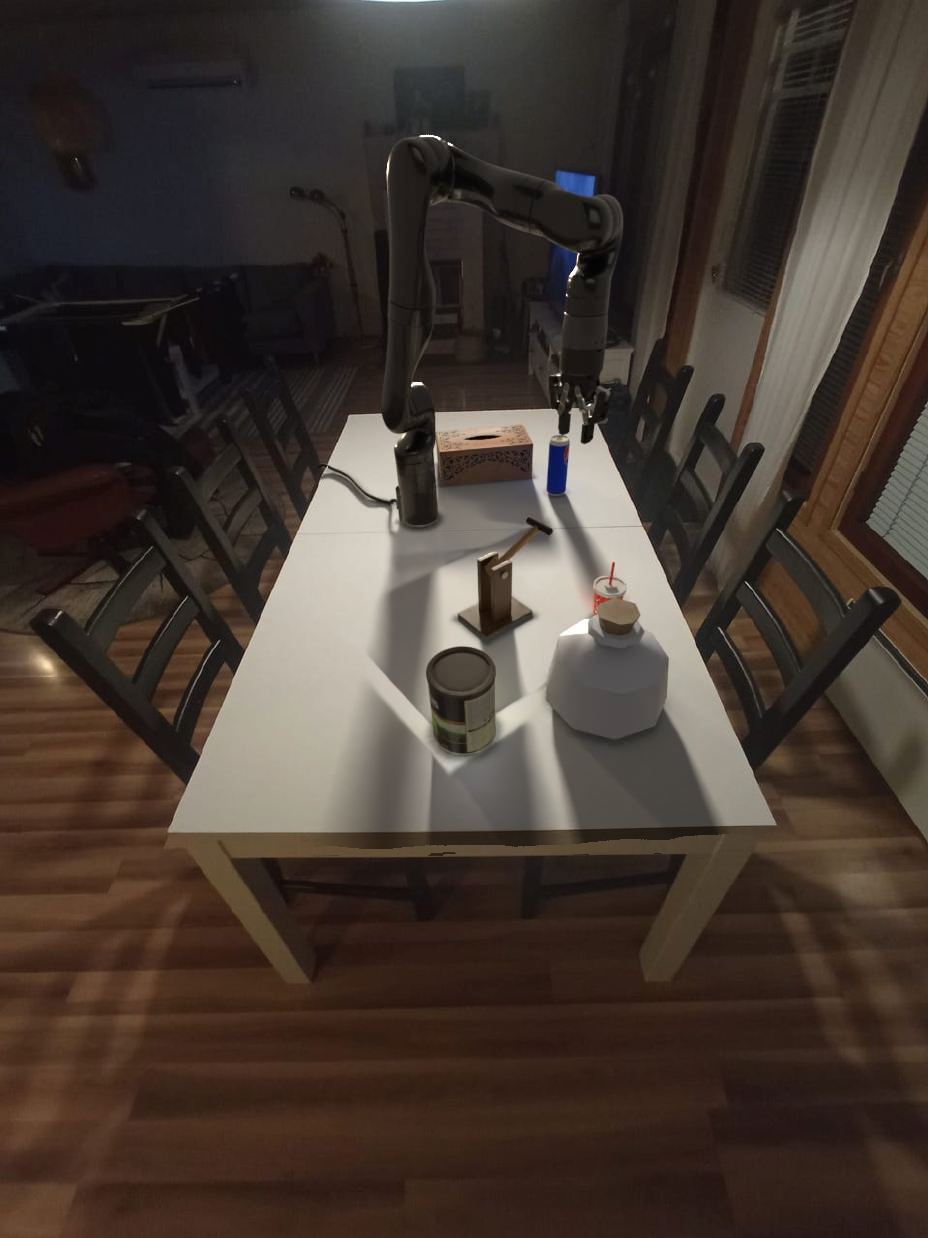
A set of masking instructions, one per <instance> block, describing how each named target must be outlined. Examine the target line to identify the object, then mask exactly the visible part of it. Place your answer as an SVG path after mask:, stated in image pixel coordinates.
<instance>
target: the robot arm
mask: <svg viewBox="0 0 928 1238" xmlns="http://www.w3.org/2000/svg"><path fill="white" fill-rule="evenodd" d="M386 188H387V189H386V193H387V209H388V228H389V265H388V267H389V272H388V276H389V277H388V293H387V294H388V295H387V334H386V335H387V336H386V352H385V354H386V355H385V366H384V374H383V382H382V390H381V397H380V411H381V417H382V420H383V423H384V425H385V426H386V428H387V430H389V431H390V432H391V433H393V434H396V435H401V434H402V435H401V436H400V438H399V439H398V440H397V441H396V443H395V444H394V447H393V455H394V461H395V469H396V476H397V484H398V485H397V486H395V495H396V498H391V499H389V500H388V499H383V498H380V497H377V496H375V495H373V494H370V492H368V491H366V490H365V489H364V488H363V487H362V486H361V485H360V484H359V483H358V482H357V481H356V480H355V478H354V477H353V476H351V475H350V474H348V473H347V472H345V471H343V470H341V469H338V468H336V467H334V466H331V465H329V464H327V463H324V462H321V463H319V464H318V465H317V468H318V469H321V468H322V467H325V468H327V466H328V468H327V469H328V470H330V471H333V472H335V473H338V474H340V475H342V476H344V477H346V478H347V479H349V480H350V481H351V482H352V484H353V485H354V486H355V487H356V488H357V490H359V491H360V493H362V494H363V495H364V496H365V497H366V498H369V499H371V500H374V501H376V502H377V503H383V504H386V505H393V504H394V503H395V505H396V510H397V512H398V518H399V522H400V523H402V524H403V525H404V526H405V527H407V528H410V529H415V530H423V529H428V528H431V527H433V526H435V525H436V524H437V523H438V522H439V520H440V513H439V502H438V492H437V491H438V490H437V480H436V479H437V478H436V466H435V452H434V449H435V446H436V432H437V431H436V429H437V428H436V406H435V401H434V398H433V395H432V393H431V391H430V390H429V388H428V387H427V386H426V385H425V384H424V383H422V382H418V381H414V375H415V373H416V372H415V371H416V369H417V366H418V364H419V363H420V360H421V358H422V357H423V354H424V352H425V350H426V348H427V346H428V344H429V342H430V339H431V337H432V335H433V331H434V326H435V317H436V310H437V309H436V308H437V286H436V282H435V278H434V275H433V270H432V268H431V265H430V261H429V259H428V253H427V244H426V242H427V241H426V240H427V225H428V224H427V223H428V215H429V209H430V207H431V206H435V205H439V204H440V203H458V204H465V205H469V206H471V207H476V208H477V209H480V210H482V211H483V212H485V213H487V215H489V216H491V217H492V218H493V219H495V220H496V221H498V222H499V223H502V224H504V225H506V226H508V227H511V228H514V229H516V230H519V231H521V232H524V233H525V232H526V233H528V234H530V235H531V234H532V235H535V236H539V237H543V238H545V239H546V240H548V241H549V242H551V243H552V244H555V245H557V246H558V247H559V248H562V249H565V250H566V251H569V252H571V253H576V254H577V257H576V262H575V267H574V269H573V271H572V272H571V273H570V275H569V276H568V278H567V283H566V289H565V290H566V292H565V306H564V316H563V322H562V329H561V342H560V343H561V344H560V357H559V358H560V359H559V370H560V372H559V373H555V374H553V375H549V376H548V388H549V399H550V407H551V409H552V410H555V411H556V412H557V415H558V425H557V430H558V435H564V436H566V435H567V434H569V433H570V430H571V418H572V413H571V412H572V409H573V406H574V405H575V404H576V405H578V411H579V413H581V417H582V422H583V423H582V424H581V433H580V443H581V444H583V445H586V444H589V443H591V442H592V441H593V439H594V435H595V433H594V432H595V426H596V424H599V423H603V422H605V420H606V417H607V415H608V411H609V408H610V404H611V401H612V398H613V395H614V391H613V389H611V388H609V389H606V388H605V387H603V386H602V385H601V381H600V380H601V379H600V378H601V377H600V376H601V373H602V372H603V369H604V362H605V355H606V354H605V353H606V347H607V346H606V345H607V338H608V327H609V326H608V325H609V324H608V323H609V321H608V320H609V319H608V315H609V305H610V304H609V303H610V296H611V283H612V277H613V274H614V271H615V267H616V264H617V260H618V256H619V251H620V248H621V242H622V239H623V232H624V212H623V208H622V205H621V203H620V202H619V200H618V198H616V197H614V196H613V195H611V194H607V193H601V194H597V195H592V196H587V195H582V194H578V193H574V192H571V191H567V190H565V189H564V188H563V187H562V186H561V185H560V184H558V183H556V182H554V181H550V180H548V179H544V178H541V177H538V176H534V175H531V174H527V173H524V172H519V171H516V170H513V169H508V168H505V167H501V166H498V165H494V164H492V163H489V162H486V161H484V160H481V159H479V158H477V157H476V156H473V155H471V154H469V153H467V152H465V151H464V150H462V149H460V148H458V147H456V146H454V145H453V144H451V143H449V142H447V141H446V140H445V139H442V138H440V137H438V136H435V135H429V134H428V135H427V134H426V135H418V136H417V135H416V136H410V137H405V138H401V139H400V140H398V141H397V142H395V144H394V145H393V146H392V149H391V151H390V153H389V155H388V161H387V168H386ZM588 403H589V404H588ZM586 404H587V405H586Z"/></svg>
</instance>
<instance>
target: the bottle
mask: <svg viewBox="0 0 928 1238" xmlns="http://www.w3.org/2000/svg"><path fill="white" fill-rule="evenodd" d="M597 611H598V614H597V615H595V616H594V617H593V616H592V617H591V618H587V619H581V620H580V621H579V622H578V623H575V624H574V625H573V626H571V627H569V628H568V629H567V630H565V631H564V632H562V633H560V634H559V635H558V637H557V640H556V644H555V647H554V651H553V654H552V658H551V660H550V663H549V667H548V671H547V682H546V683H547V684H546V693H545V701H546V702H547V704H549V705H550V707H552V708H553V710H555V711H556V713H557V714H558V715H559V716H560V717H561V718H562V719H563V720H564V721H565V722H566V724H568V726H569V727H570V728H571V729H573V730H575V731H578V732H582V733H585V734H590V735H595V736H598V737H602V738H607V739H610V740H619V739H622V738H625V737H628V736H631V735H633V734H636V733H640V732H642V731H645V730H648V729H651V728H654V727H656V726H657V723H658V721H659V718H660V715H661V713H662V710H663V708H664V706H665V703H666V700H667V698H668V686H669V685H668V683H669V663H670V657H669V656H668V654H667V652H666V651H665V650H664V648H663V646H662V645H661V644H660V642H659V641H658V639H657V638H656V636H655V635H654V633H653V632H652V631H649V630H647V629H644V628H643V626H642V625H641V623H640V621H639V619H640V617H641V613H640V610H639V608H638V606H637V604H636V603H635V602H632V601H629V600H626V599H623V600H622V599H619V598H613V599H610V600H608V601H606V602H604V603H601V604H599V605H597Z"/></svg>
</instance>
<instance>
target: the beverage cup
mask: <svg viewBox="0 0 928 1238" xmlns="http://www.w3.org/2000/svg"><path fill="white" fill-rule="evenodd" d="M615 566H616V562H615V561H612V563H611V569H610V575H602V576H599V577H597V578H595V580H594V581H593V586H592V588H593V589H592V590H593V604H592V605H593V606H592V617H594V616H595V615H597V614H598V611H597V605H599V604H601V603H604V602H606V601H608V600H610V599H613V598H619V599H622V600H624V595H625V594H626V592H627V589H628V585H627V583H626V582H625V580H623V579H622V578H620V577H618V576H615V575H614V571H615Z"/></svg>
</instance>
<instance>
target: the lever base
mask: <svg viewBox="0 0 928 1238" xmlns="http://www.w3.org/2000/svg"><path fill="white" fill-rule="evenodd" d="M494 557H495V558H496V559H499V552H498V551H497V550H494V551H492V552H489V553H487V554H485V555H482V556H481V557H479V558H477V559H476V560H477V561H476V564H477V566H476V567H477V568H476V569H477V600H478V603H476V604H474V605H471V606H469V607H467V608H466V609H463V610H462V611H460V612H458V613H457V616H458V617H459V618H461V619H462V620H463V621H464V622H465V623H467V625H469V626H470V627H471V628H473V629H474V630H475V631H476V632H477V633H478V634H480V635H481V636H482V637H483V638H485V639H487V638H489V637H490V636H492V635H494V634H496V633H498V632H499V631H502V630H503V629H505V628H507V627H509V626H511V625H512V624H514V623H516V622H518V621H520V620H522V619H524V618H525V617H527V616H529V615H531V614H533V610H532V609H530V608H529V607H528V606H526V605H525V604H523V603H522V602H521V601H519V600H518V599H517V598H515V597H514V596H513V561H512V560H511V559H510V560H508V561H505V562H503V563H501V564H499V565H497V566H495V567H493V568H491V576H489V575H488V574H487V572H486V570H485V568H484V566H485V565H486V564H488V563H489V562H490V561H491V560H492V559H493V558H494Z"/></svg>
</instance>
